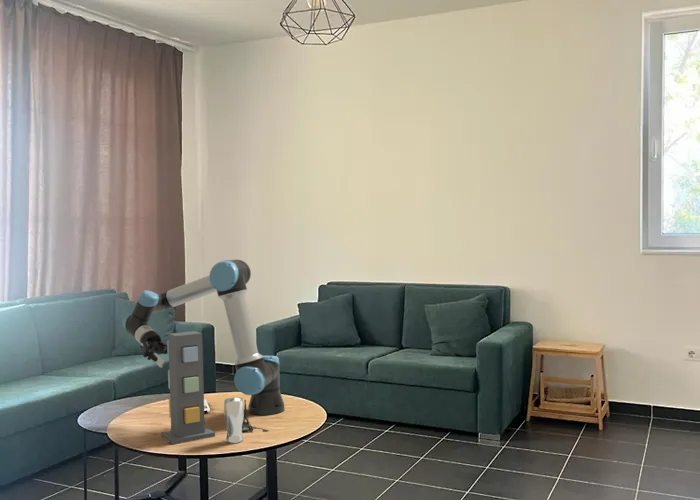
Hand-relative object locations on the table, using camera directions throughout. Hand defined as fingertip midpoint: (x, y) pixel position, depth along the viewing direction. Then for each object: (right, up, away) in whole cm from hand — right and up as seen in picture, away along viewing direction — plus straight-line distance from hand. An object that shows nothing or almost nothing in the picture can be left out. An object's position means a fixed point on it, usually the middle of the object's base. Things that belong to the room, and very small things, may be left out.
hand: (176, 365), depth 265 cm
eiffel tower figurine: (+29, -24, -9) cm, 38 cm away
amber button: (+7, -18, -13) cm, 23 cm away
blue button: (+6, +4, -14) cm, 15 cm away
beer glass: (+26, -24, -22) cm, 42 cm away
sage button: (+6, -7, -13) cm, 16 cm away
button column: (+8, -24, -15) cm, 29 cm away
